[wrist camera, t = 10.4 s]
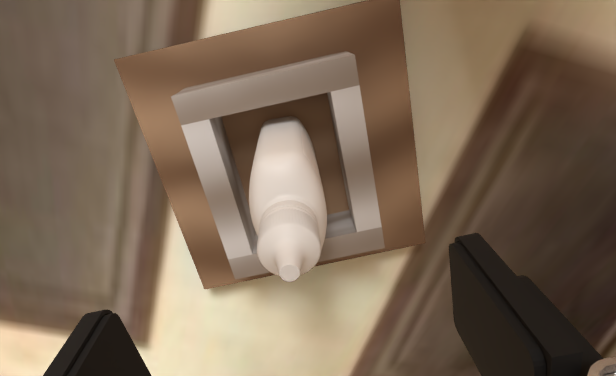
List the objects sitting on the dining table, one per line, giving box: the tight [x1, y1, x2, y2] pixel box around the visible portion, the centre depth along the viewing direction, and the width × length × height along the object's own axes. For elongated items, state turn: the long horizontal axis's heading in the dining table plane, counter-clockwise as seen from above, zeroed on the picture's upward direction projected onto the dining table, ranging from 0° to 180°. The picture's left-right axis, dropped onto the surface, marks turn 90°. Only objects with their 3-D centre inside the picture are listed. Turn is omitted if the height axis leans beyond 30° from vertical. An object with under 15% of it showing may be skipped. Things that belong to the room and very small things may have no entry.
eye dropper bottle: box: [249, 116, 327, 282], centre depth 19 cm, size 4×6×12 cm
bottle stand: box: [114, 0, 425, 289], centre depth 23 cm, size 16×16×4 cm
